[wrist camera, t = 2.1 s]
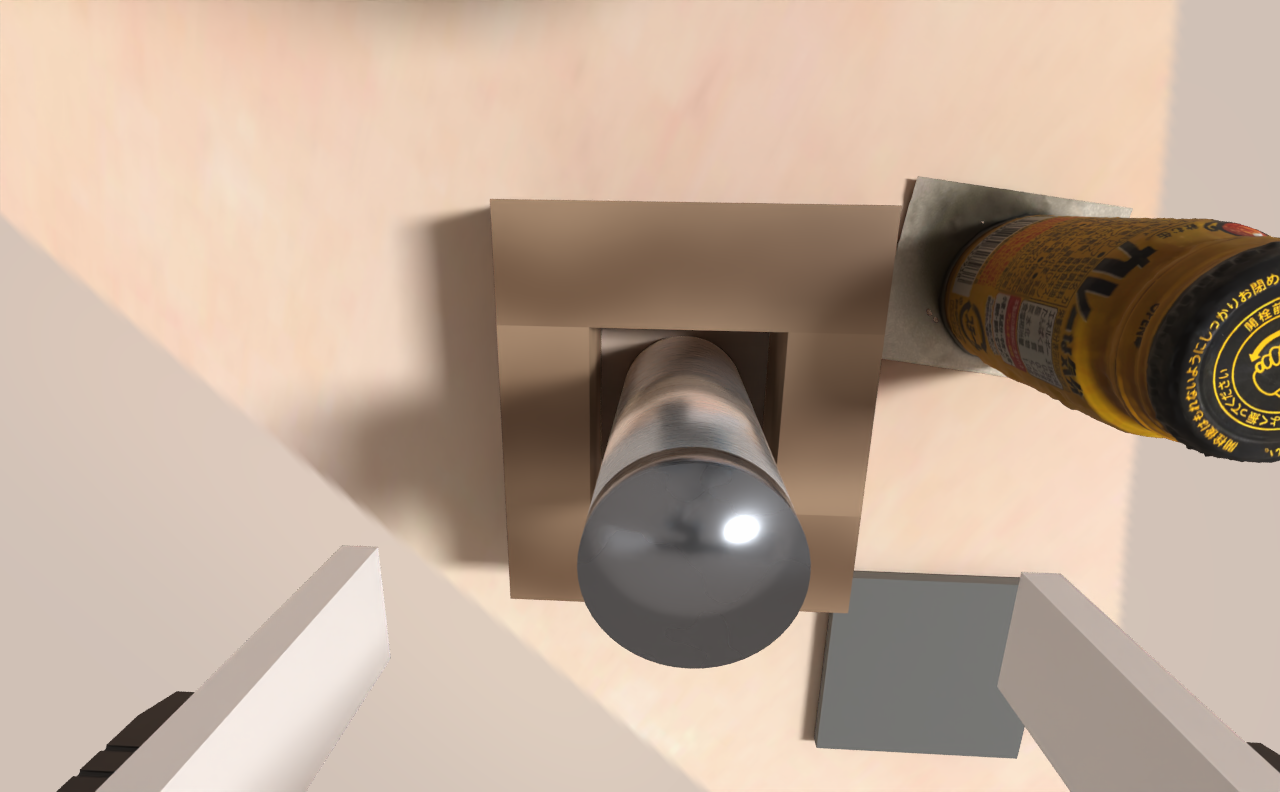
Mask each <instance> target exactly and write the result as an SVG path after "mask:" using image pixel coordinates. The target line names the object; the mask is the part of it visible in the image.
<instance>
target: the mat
mask: <svg viewBox="0 0 1280 792" xmlns="http://www.w3.org/2000/svg"><path fill="white" fill-rule="evenodd" d="M1019 581H1020V578H1011V577H987V576H963V575H938V574H914V573H890V572H866V571H854V572H853V580H852V587H851V595H850V602H849V610H848V613H829V620H828V628H827V636H826V645H825V653H824V661H823V669H822V677H821V686H820V694H819V702H818V710H817V718H816V727H815V735H814V740H815V743H816V747H817V748H830V749H848V750H867V751H886V752H904V753H923V754H942V755H960V756H979V757H997V758H1016V759H1017V756H1018V752H1019V748H1020V744H1021V739H1022V735H1023V731H1024V727H1025V726H1024V724H1023V723H1022V721H1021V720H1020V719H1019V717H1018V716H1017V714H1016V713H1015V711H1014V710H1013V709H1012V707H1011V706H1010V704H1009V703H1008V701H1007V700H1006V699H1005V697H1004V696H1003V694H1002V693H1001V691H1000V690H999V689H998V687H997V685H998V680H999V675H1000V671H1001V666H1002V661H1003V656H1004V652H1005V647H1006V642H1007V638H1008V633H1009V628H1010V624H1011V619H1012V614H1013V609H1014V605H1015V600H1016V595H1017V591H1018V586H1019Z"/></svg>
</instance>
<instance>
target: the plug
mask: <svg viewBox="0 0 1280 792" xmlns="http://www.w3.org/2000/svg"><path fill="white" fill-rule="evenodd" d="M577 573H578V582H579V586H580V590H581V594H582V596H583V599H584V601H585V604H586V606H587V608H588V609H589V611H590V613H591V615H592V617H593V618H594V619H595V621H596V622H597V623H598V625H599V626H600V627H601V628H602V629H603V630H604V631H605V632H606V633H607V634H608V635H609V636H610V637H611V638H612V639H613V640H614V641H616V642H617V643H618V644H619V645H621V646H622V647H624V648H625V649H627V650H629V651H630V652H632V653H634V654H636V655H638V656H640V657H642V658H644V659H647V660H650V661H653V662H656V663H659V664H663V665H667V666H672V667H679V668H710V667H718V666H722V665H727V664H731V663H734V662H737V661H740V660H743V659H745V658H747V657H749V656H751V655H753V654H755V653H758V652H759V651H761V650H762V649H764V648H765V647H767V646H768V645H770V644H771V643H772V642H773V641H775V640H776V639H777V638H778V637H779V636H781V634H782V633H783V632H784V631H785V630H786V629H787V628H788V627H789V626H790V624H791V623H792V622H793V620H794V619H795V617H796V616H797V614H798V612H799V611H800V609H801V607H802V605H803V603H804V600H805V597H806V594H807V591H808V587H809V581H810V573H811V560H810V552H809V547H808V543H807V540H806V536H805V534H804V531H803V529H802V526H801V524H800V522H799V519H798V517H797V514H796V512H795V509H794V507H793V504H792V502H791V500H790V497H789V495H788V492H787V490H786V487H785V485H784V482H783V480H782V478H781V475H780V473H779V470H778V468H777V465H776V463H775V460H774V458H773V456H772V453H771V451H770V448H769V446H768V443H767V441H766V438H765V436H764V434H763V431H762V429H761V426H760V424H759V421H758V419H757V416H756V414H755V412H754V409H753V407H752V404H751V402H750V399H749V397H748V395H747V392H746V390H745V387H744V385H743V382H742V380H741V377H740V375H739V373H738V370H737V368H736V366H735V364H734V363H733V361H732V360H731V358H730V357H729V356H728V355H727V354H726V353H725V352H724V351H723V350H722V349H721V348H719V347H718V346H716V345H715V344H713V343H711V342H709V341H707V340H704V339H702V338H698V337H693V336H674V337H668V338H665V339H662V340H659V341H657V342H655V343H653V344H652V345H650V346H648V347H647V348H646V349H645V350H643V351H642V352H641V353H640V354H639V355H638V356H637V357H636V359H635V360H634V362H633V363H632V365H631V367H630V368H629V370H628V373H627V376H626V379H625V383H624V386H623V390H622V393H621V397H620V400H619V404H618V408H617V411H616V415H615V418H614V422H613V426H612V429H611V433H610V436H609V440H608V444H607V447H606V451H605V454H604V458H603V462H602V465H601V469H600V472H599V476H598V480H597V483H596V487H595V490H594V494H593V497H592V501H591V505H590V508H589V512H588V515H587V519H586V523H585V526H584V530H583V533H582V537H581V541H580V545H579V550H578V558H577Z"/></svg>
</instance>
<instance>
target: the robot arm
mask: <svg viewBox="0 0 1280 792" xmlns="http://www.w3.org/2000/svg"><path fill="white" fill-rule="evenodd" d="M390 658H391V657H390V648H389V639H388V630H387V621H386V613H385V604H384V595H383V586H382V578H381V568H380V560H379V551H378V547H367V546H341V547H340V548H339V549H338V550H337V551H336V552H335V553H334V554H333V555H332V556H331V557H330V558H329V559H328V560H327V561H326V562H325V563H324V564H323V565H322V566H321V567H320V568H319V569H318V570H317V571H316V572H315V573H314V574H313V575H312V576H311V577H310V578H309V579H308V580H307V581H306V582H305V583H304V584H303V585H302V586H301V587H300V588H299V589H298V590H297V591H296V592H295V593H294V594H293V595H292V596H291V597H290V598H289V599H288V600H287V601H286V602H285V603H284V604H283V605H282V606H281V607H280V608H279V609H278V610H277V611H276V612H275V613H274V614H273V615H272V616H271V617H270V618H269V619H268V620H267V621H266V622H265V623H264V624H263V625H262V626H261V627H260V628H259V629H258V630H257V631H256V632H255V633H254V634H253V635H252V636H251V637H250V638H249V639H248V640H247V641H246V642H245V643H244V644H243V645H242V646H241V647H240V648H239V649H238V650H237V651H236V652H235V653H234V654H233V655H232V656H231V657H230V658H229V659H228V660H227V661H226V662H225V663H224V664H223V665H222V666H221V667H220V668H219V669H218V670H217V671H216V672H215V673H214V674H213V675H212V676H211V677H210V678H209V679H208V680H207V681H206V682H205V683H204V684H203V685H202V686H201V687H200V688H199V689H198V690H197V691H196V692H179V691H178V692H175V693H174V694H172V695H170V696H169V697H167V698H166V699H164V700H162V701H161V702H159V703H157V704H156V705H154V706H153V707H151V708H150V709H148V710H146V711H145V712H143V713H141V714H140V715H138V716H137V717H136V718H135V719H134V720H133V721H132V722H131V723H130V724H128V725H127V726H126V727H125V728H124V729H123V730H122V731H121V732H120V733H119V734H118V735H117V736H116V737H115V738H113V739H112V740H111V741H110V742H109V743H108V744H107V747H106V749H105V750H104V751H100V752H98V753H97V754H96V755H95V756H94V757H93V758H92V759H91V760H90V761H89V762H88V763H87V764H86V765H85V766H84V767H82V769H80V773H79V775H78V776H76V777H75V776H73V777H72V778H71V779H70V780H68V782H66V783H65V784H64V785H63V786H62V787H61V788H60V789H59V790H58V791H57V792H306V790H307V789H308V787H309V786H310V784H311V783H312V781H313V780H314V778H315V776H316V775H317V773H318V772H319V770H320V769H321V767H322V765H323V764H324V762H325V761H326V759H327V758H328V756H329V754H330V753H331V751H332V750H333V748H334V746H335V745H336V743H337V742H338V740H339V739H340V737H341V735H342V734H343V732H344V731H345V729H346V728H347V726H348V725H349V723H350V721H351V720H352V718H353V717H354V715H355V714H356V712H357V710H358V709H359V707H360V706H361V704H362V702H363V701H364V699H365V698H366V696H367V695H368V693H369V691H370V690H371V688H372V686H373V685H374V684H375V682H376V681H377V679H378V677H379V676H380V674H381V673H382V671H383V669H384V668H385V666H386V665H387V663H388V661H389V660H390ZM997 687H998V689H999V690H1000V691H1001V693H1002V694H1003V696H1004V697H1005V699H1006V700H1007V701H1008V703H1009V704H1010V706H1011V707H1012V709H1013V710H1014V711H1015V713H1016V714H1017V716H1018V717H1019V719H1020V720H1021V721H1022V723H1023V724H1024V726H1025V727H1026V729H1027V730H1028V732H1029V733H1030V734H1031V736H1032V737H1033V739H1034V740H1035V742H1036V743H1037V744H1038V746H1039V747H1040V749H1041V750H1042V752H1043V753H1044V754H1045V756H1046V757H1047V759H1048V760H1049V762H1050V763H1051V764H1052V766H1053V767H1054V769H1055V770H1056V772H1057V773H1058V774H1059V776H1060V777H1061V779H1062V780H1063V782H1064V783H1065V784H1066V786H1067V787H1068V789H1069V790H1070V792H1280V755H1278V754H1277V753H1276V752H1274V751H1272V750H1271V749H1269V748H1267V747H1266V746H1264V745H1263V744H1261V743H1250V742H1245V741H1244V740H1243V739H1242V738H1241V737H1240V736H1238V735H1237V734H1236V733H1235V732H1234V731H1233V730H1232V729H1231V728H1230V727H1228V726H1227V725H1226V724H1225V723H1224V722H1223V721H1222V720H1221V719H1220V718H1219V717H1217V716H1216V715H1215V714H1214V713H1213V712H1212V711H1211V710H1210V709H1209V708H1207V706H1205V705H1204V704H1203V703H1202V702H1201V701H1200V700H1199V699H1198V698H1197V697H1196V696H1194V695H1193V694H1192V693H1191V692H1190V691H1189V690H1188V689H1187V688H1186V687H1185V686H1184V685H1182V684H1181V683H1180V682H1179V681H1178V680H1177V679H1176V678H1175V677H1174V676H1172V675H1171V674H1170V673H1169V672H1168V671H1167V670H1166V669H1165V668H1164V667H1163V666H1162V665H1160V664H1159V663H1158V662H1157V661H1156V660H1155V659H1154V658H1153V657H1152V656H1151V655H1149V654H1148V653H1147V652H1146V651H1145V650H1144V649H1143V648H1142V647H1141V646H1140V645H1138V644H1137V643H1136V642H1135V641H1134V640H1133V639H1132V638H1131V637H1130V636H1128V635H1127V634H1126V633H1125V632H1124V631H1123V630H1122V629H1121V628H1120V627H1119V626H1118V625H1116V624H1115V623H1114V622H1113V621H1112V620H1111V619H1110V618H1109V617H1108V616H1107V615H1105V614H1104V613H1103V612H1102V611H1101V610H1100V609H1099V608H1098V607H1097V606H1096V605H1094V604H1093V603H1092V602H1091V601H1090V600H1089V599H1088V598H1087V597H1086V596H1085V595H1083V594H1082V593H1081V592H1080V591H1079V590H1078V589H1077V588H1076V587H1075V586H1074V585H1072V584H1071V583H1070V582H1069V581H1068V580H1067V579H1066V578H1065V577H1064V576H1063V575H1061V574H1054V573H1028V572H1021V577H1020V581H1019V586H1018V591H1017V595H1016V600H1015V605H1014V609H1013V614H1012V619H1011V624H1010V628H1009V633H1008V638H1007V642H1006V647H1005V652H1004V656H1003V661H1002V666H1001V671H1000V675H999V680H998V685H997Z"/></svg>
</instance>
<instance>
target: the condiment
mask: <svg viewBox="0 0 1280 792" xmlns="http://www.w3.org/2000/svg"><path fill="white" fill-rule="evenodd" d="M1132 209H1133V208H1127V207H1120V206H1113V205H1106V204H1099V203H1092V202H1085V201H1079V200H1072V199H1065V198H1058V197H1052V196H1046V195H1038V194H1032V193H1025V192H1018V191H1013V190H1007V189H998V188H992V187H986V186H979V185H972V184H966V183H958V182H952V181H946V180H940V179H932V178H926V177H919V176H918V177H917V180H916V184H915V187H914V191H913V195H912V199H911V201H910V203H909V207H908V211H907V215H906V218H905V222H904V225H903V229H902V234H901V238H900V240H899V243H898V247H897V251H896V255H895V262H894V269H893V277H892V284H891V292H890V299H889V307H888V315H887V322H886V330H885V337H884V345H883V352H882V359H887V360H894V361H902V362H908V363H913V364H920V365H929V366H935V367H940V368H948V369H955V370H962V371H970V372H977V373H984V374H990V375H997V376H1004V377H1009V378H1011V379H1013V380H1015V381H1017V382H1020V383H1023V384H1026V385H1028V386H1030V387H1032V388H1035V389H1036V390H1038V391H1039V392H1042V393H1046V394H1047V395H1049V396H1050V397H1051V398H1052V399H1056V400H1059V401H1060V402H1061V403H1062V404H1063V405H1065V406H1066V407H1068V408H1070V409H1072V410H1078V411H1080V412H1082V413H1084V414H1086V415H1088V416H1090V417H1092V418H1094V419H1096V420H1098V421H1100V422H1103V423H1105V424H1107V425H1110V426H1111V427H1114V428H1116V429H1118V430H1120V431H1123V432H1125V433H1131V434H1135V435H1140V436H1146V437H1155V438H1166V439H1169V440H1172V441H1176V442H1180V443H1183V444H1185V445H1186V447H1187V448H1188V449H1194V450H1196V451H1198V452H1200V453H1204V455H1205V456H1213V457H1217V458H1226V459H1229V460H1236V461H1240V462H1244V461H1247V462H1258V463H1260V462H1269V463H1272V462H1276V461H1279V460H1280V238H1276V237H1271V236H1269V235H1267V234H1265V233H1263V232H1261V231H1259V230H1257V229H1253V228H1250V227H1248V226H1244V225H1241V224H1237V223H1232V222H1223V221H1218V220H1213V219H1196V218H1195V219H1174V218H1156V219H1151V218H1130V215H1131V212H1132ZM981 221H984V224H982V222H981ZM927 309H929V310H930V311H931V312H932V315H931V316H929V315H928V314H927V312H926V311H927ZM934 317H937V318H938V322H937V323H936V322H934V320H933V319H934Z"/></svg>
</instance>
